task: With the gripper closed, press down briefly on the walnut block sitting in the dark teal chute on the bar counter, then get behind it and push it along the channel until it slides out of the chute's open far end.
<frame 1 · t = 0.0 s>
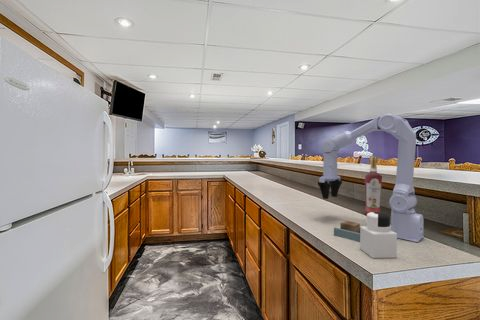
hand: (329, 197, 110), 10 cm above the counter, tool pointing down, fingers open, 7 cm apart
chute: (352, 235, 90), on the counter
liquor: (372, 215, 119), on the counter
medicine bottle: (377, 253, 74), on the counter
walnut block: (349, 235, 90), on the counter
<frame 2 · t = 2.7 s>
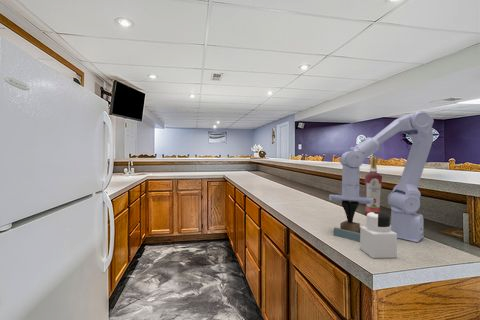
hand: (350, 221, 90), 5 cm above the counter, tool pointing down, fingers closed
nothing on the counter moved.
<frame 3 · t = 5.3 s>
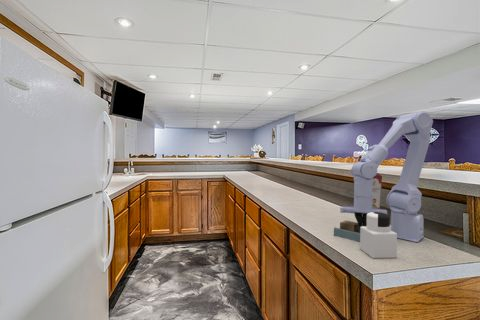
hand: (362, 234, 87), 1 cm above the counter, tool pointing down, fingers closed
walnut block: (349, 235, 91), on the counter, touching gripper
everything else where it was.
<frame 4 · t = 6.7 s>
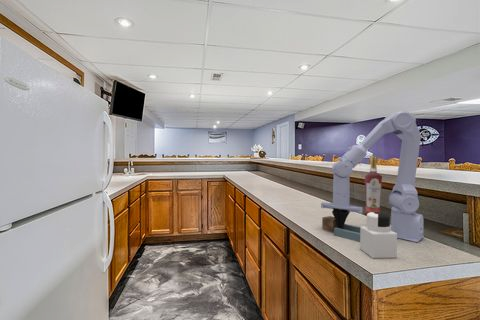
hand: (340, 229, 93), 1 cm above the counter, tool pointing down, fingers closed
walnut block: (331, 229, 97), on the counter, touching gripper
everything else where it was.
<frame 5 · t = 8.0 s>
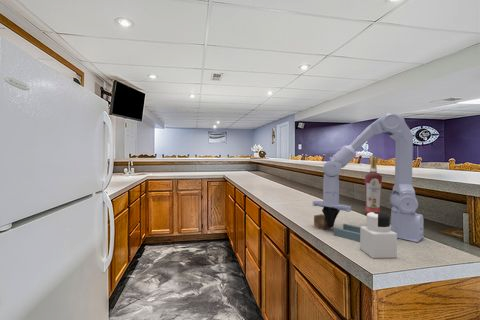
hand: (330, 227, 96), 1 cm above the counter, tool pointing down, fingers closed
walnut block: (322, 227, 100), on the counter, touching gripper
everything else where it was.
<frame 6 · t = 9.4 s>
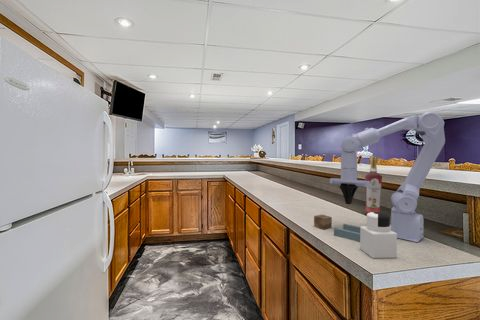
hand: (348, 203, 96), 10 cm above the counter, tool pointing down, fingers closed
walnut block: (322, 227, 100), on the counter
everything else where it was.
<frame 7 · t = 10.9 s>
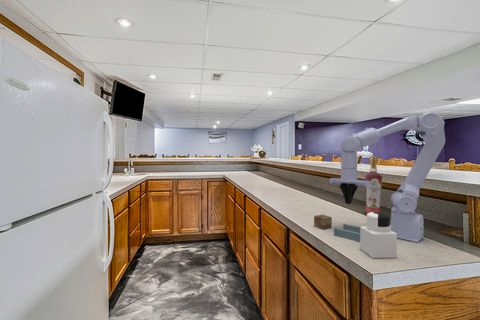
hand: (348, 203, 96), 10 cm above the counter, tool pointing down, fingers closed
nothing on the counter moved.
at the end: walnut block inside the target area (1.5 cm from its centre), on the counter; walnut block touching counter; walnut block tilted 0° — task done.
